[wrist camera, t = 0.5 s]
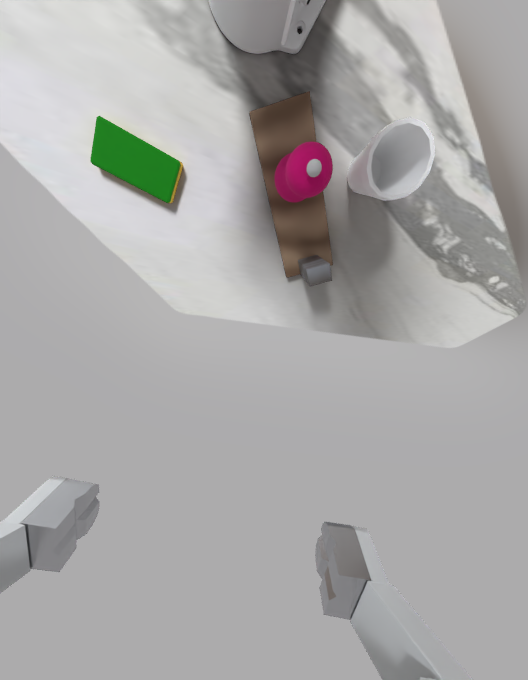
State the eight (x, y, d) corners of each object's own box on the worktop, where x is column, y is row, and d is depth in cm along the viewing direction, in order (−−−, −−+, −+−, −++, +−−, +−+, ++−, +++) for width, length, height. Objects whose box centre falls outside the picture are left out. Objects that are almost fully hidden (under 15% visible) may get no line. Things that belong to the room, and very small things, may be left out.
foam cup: (390, 137, 43) (439, 109, 32) (388, 196, 48) (431, 191, 36) (337, 149, 44) (366, 127, 32) (339, 207, 48) (366, 205, 37)
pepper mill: (316, 191, 46) (353, 185, 29) (281, 209, 48) (297, 214, 30) (303, 147, 43) (337, 112, 26) (266, 168, 44) (274, 147, 27)
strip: (249, 115, 41) (247, 83, 31) (307, 95, 40) (325, 55, 30) (286, 276, 54) (293, 290, 44) (330, 263, 53) (349, 275, 43)
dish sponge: (105, 119, 41) (96, 114, 39) (184, 164, 44) (180, 161, 42) (97, 165, 44) (89, 162, 42) (172, 204, 47) (168, 203, 45)
